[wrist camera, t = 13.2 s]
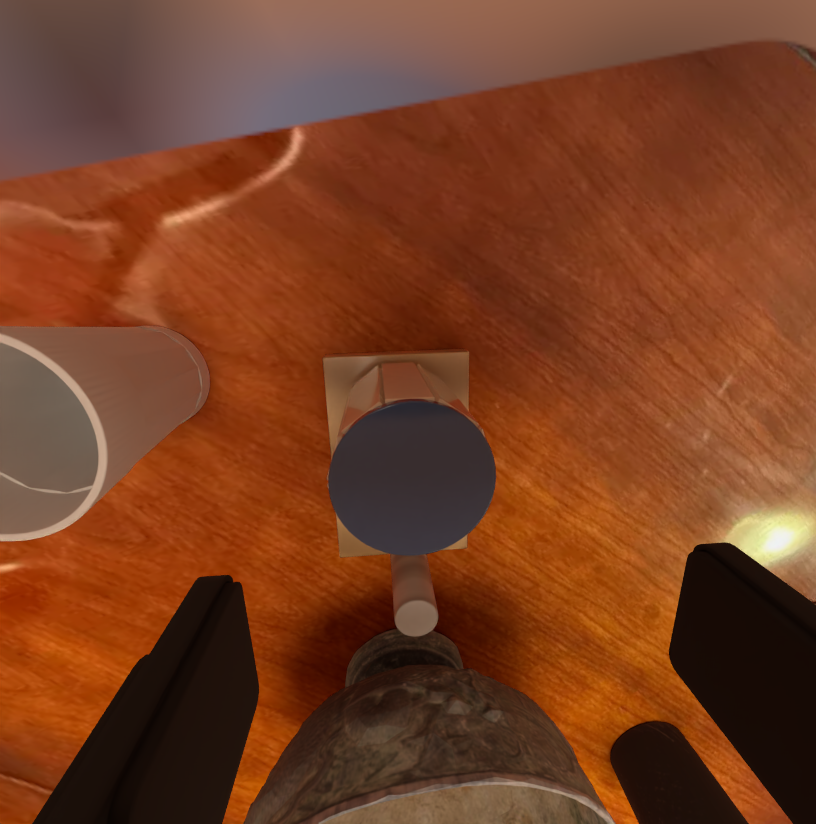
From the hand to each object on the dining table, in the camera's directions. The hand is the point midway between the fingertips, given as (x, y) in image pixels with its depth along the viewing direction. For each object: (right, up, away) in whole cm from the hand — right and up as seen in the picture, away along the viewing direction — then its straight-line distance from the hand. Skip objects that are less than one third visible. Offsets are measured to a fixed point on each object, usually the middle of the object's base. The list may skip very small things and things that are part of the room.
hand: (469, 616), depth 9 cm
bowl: (-1, -17, +25) cm, 30 cm away
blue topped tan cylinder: (-2, +4, +16) cm, 17 cm away
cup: (-17, +7, +18) cm, 25 cm away
